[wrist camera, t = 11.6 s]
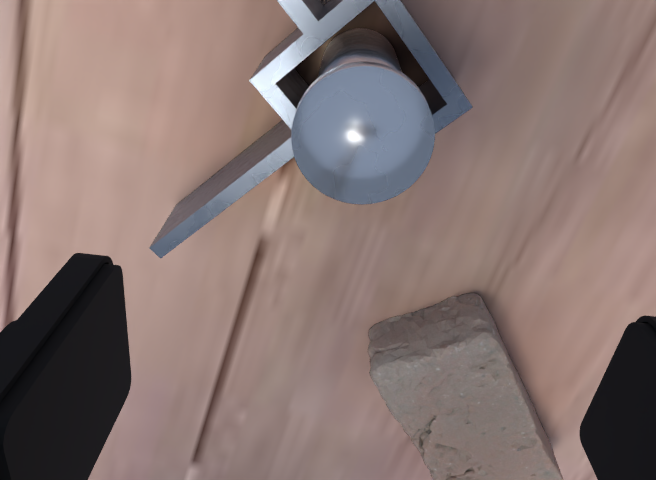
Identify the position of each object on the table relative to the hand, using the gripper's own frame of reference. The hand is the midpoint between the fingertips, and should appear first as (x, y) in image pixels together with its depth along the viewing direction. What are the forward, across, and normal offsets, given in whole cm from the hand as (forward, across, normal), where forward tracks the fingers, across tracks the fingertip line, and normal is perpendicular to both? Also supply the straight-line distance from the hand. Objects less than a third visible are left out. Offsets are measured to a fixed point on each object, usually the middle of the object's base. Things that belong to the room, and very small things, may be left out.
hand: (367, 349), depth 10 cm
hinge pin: (+21, 0, -1) cm, 21 cm away
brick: (+22, -11, +21) cm, 32 cm away
